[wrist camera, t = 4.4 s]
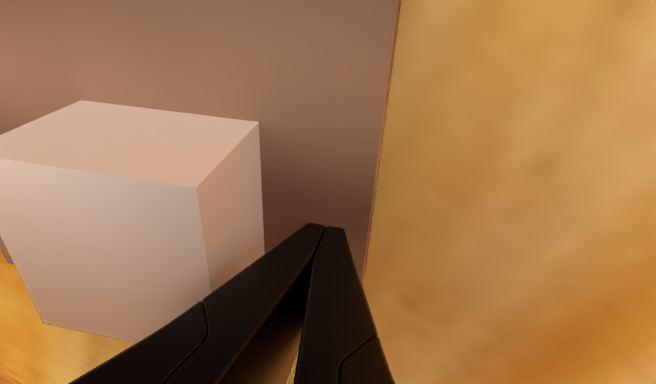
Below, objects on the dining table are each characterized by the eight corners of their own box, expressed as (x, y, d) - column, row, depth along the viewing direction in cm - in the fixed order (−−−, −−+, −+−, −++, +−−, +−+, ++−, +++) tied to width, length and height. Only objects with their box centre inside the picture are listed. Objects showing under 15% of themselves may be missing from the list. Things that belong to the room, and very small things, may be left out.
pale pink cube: (265, 270, 11) (221, 361, 9) (122, 245, 12) (43, 323, 9) (258, 121, 9) (196, 188, 6) (80, 99, 10) (-40, 152, 7)
